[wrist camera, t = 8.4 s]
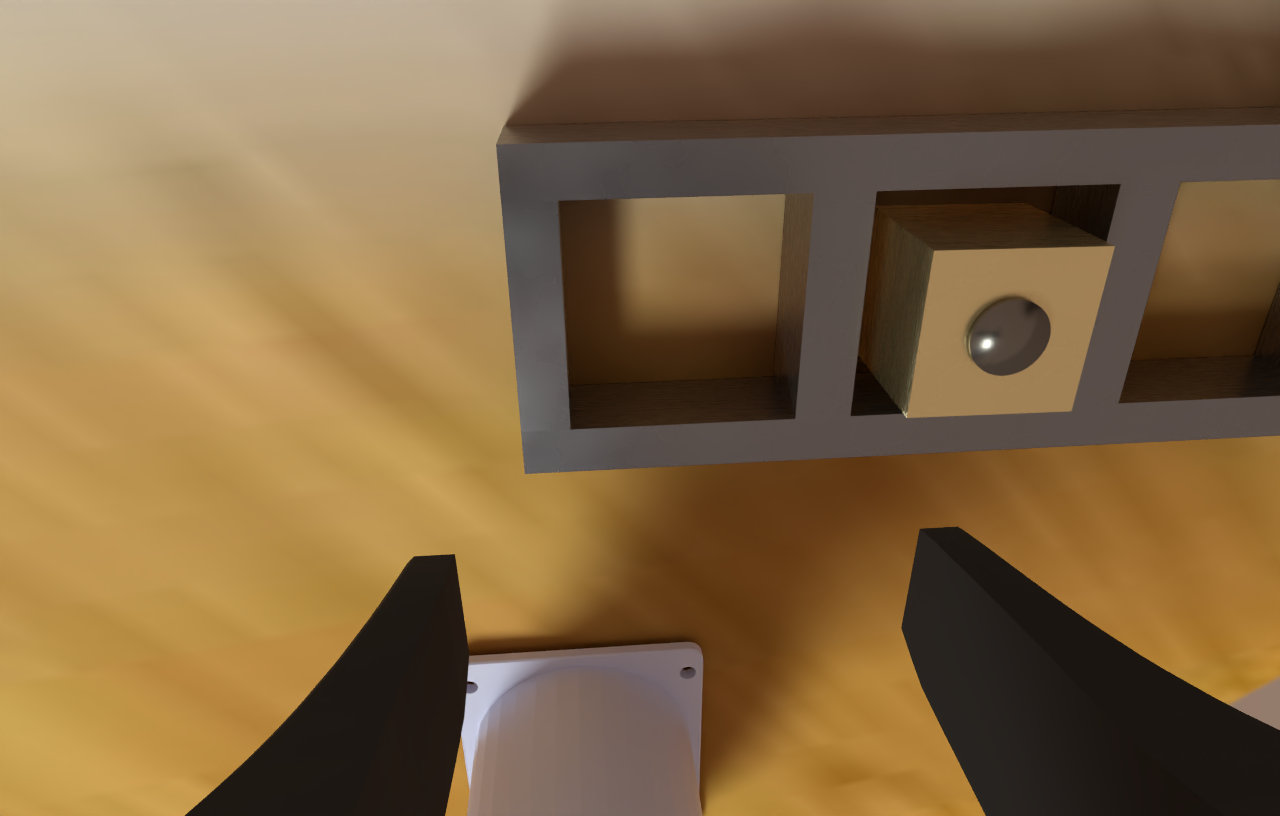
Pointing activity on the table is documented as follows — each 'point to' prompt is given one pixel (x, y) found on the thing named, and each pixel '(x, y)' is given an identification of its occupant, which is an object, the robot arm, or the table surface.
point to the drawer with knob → (979, 308)
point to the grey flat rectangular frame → (837, 271)
